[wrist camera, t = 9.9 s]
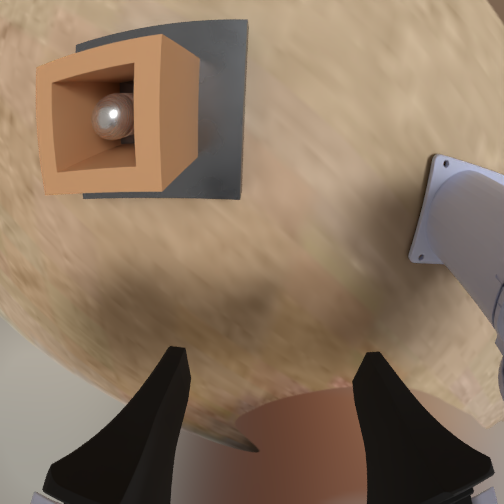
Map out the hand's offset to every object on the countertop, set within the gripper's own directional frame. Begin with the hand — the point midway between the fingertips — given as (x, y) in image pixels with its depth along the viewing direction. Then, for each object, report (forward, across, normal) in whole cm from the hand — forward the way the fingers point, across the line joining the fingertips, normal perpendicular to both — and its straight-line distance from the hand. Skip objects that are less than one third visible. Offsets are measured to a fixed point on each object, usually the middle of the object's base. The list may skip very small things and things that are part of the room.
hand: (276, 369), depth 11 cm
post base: (+9, +7, -9) cm, 15 cm away
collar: (+8, +7, -9) cm, 14 cm away
